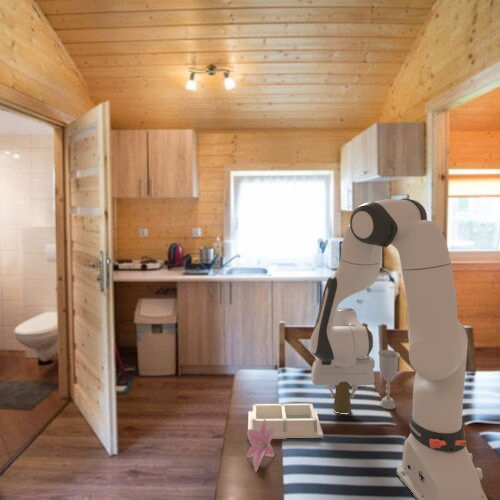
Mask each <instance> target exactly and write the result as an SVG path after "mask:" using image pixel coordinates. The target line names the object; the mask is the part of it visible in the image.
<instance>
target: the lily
mask: <svg viewBox="0 0 500 500" xmlns="http://www.w3.org/2000/svg"><path fill="white" fill-rule="evenodd" d="M277 428H278V427H271V428H268V429H267V426H266V419H264V421H263V423H262V425H261V427H260V430H259V431H258V430H254V429H249V430H248V429H247V430H246V435H247V440H248V441H249V444H251V446H250V447H249V449H248V451H247V453H246V458H251V457H252V462H253V463H252V464H253V470H254V472H256V473H257V471H258V469H259V466H260V465H261V462H262V460H263V459H264V456H266V457H270V458H271V457H272V458H274V457H275V455H276V453H275V451H274V448H273V447H272V444H271V441H272V440H273V439H272V437H273V436H274V434H275V432H276V430H277Z"/></svg>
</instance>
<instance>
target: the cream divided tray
mask: <svg viewBox="0 0 500 500" xmlns="http://www.w3.org/2000/svg"><path fill="white" fill-rule="evenodd" d="M247 416H248V418H247V430H249V429H254V430H258V431H259V430H260V427H261V425H262V423H263V421H264V419H266V426H267V429H268V428H271V427H278V428H277V430H276V432H275V434H274V436H273V437H272V439H271V440H287V439H286V438H306V437H307V438H308V437H310V438H311V437H313V438H314V437H323V438H324V433H323V429H322V426H321V424H320V423H321V422H320V420H319V416H318V412H317V410H315V409H314V405H313V403H253V404H252V410H249V411H248V414H247Z"/></svg>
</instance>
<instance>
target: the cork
mask: <svg viewBox="0 0 500 500" xmlns="http://www.w3.org/2000/svg"><path fill="white" fill-rule="evenodd" d="M351 386H352V385H349V383H348V382H340V383H339V384H338V385H334V387H335V391H336V398H333V399H334V401H333V407H332V408H333V409H334V410H335V411H336V412H339V413H349V412H351V410H352V404H351V398H350V394H349V390H350V388H351ZM333 409H332V410H333ZM351 413H352V412H351Z"/></svg>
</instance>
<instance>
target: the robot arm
mask: <svg viewBox="0 0 500 500" xmlns="http://www.w3.org/2000/svg"><path fill="white" fill-rule="evenodd" d="M351 213H352V214H351V215H350V218H349V224H348V225H347V226H346V227H345V228H346V229H345V232H344V235H343V238H342V239H343V240H342V244H341V249H340V260H339V264H338V267H337V269H336V271H335V272H334V274H332V275H331V276H330V277H328V278H327V280H326V283H325V286H324V289H323V293H322V296H321V300H320V305H319V308H318V313H317V317H316V321H315V324H314V327H313V330H312V332H311V335H310V351H311V353H312V354H313V356H314V358H315V360H314V362H313V363H312V367H311V377H310V378H311V383H312V384H313V385H314V386H317V387H318V386H320V387H321V386H327V387H328V390H329V391H330V398H332V399H335V398H336V390H333V388H334V386H335V385H338V384H339V383H340V382H348V383H349V385H351V386H352V387H351V389H349V394H350V399H351V398H352V399H354V398H355V394H356V391H357V390H358V388H359V386H373V385H374V383H375V371H374V369H375V366H376V365H375V364H376V363H375V359H374V358H373V357H372V356H369V355H370V353H371V352H372V350H373V347H374V336H373V333H372V332H371V331H370V329H368V328H367V327H366V326H365V325H363V324H362V323H361V322H360V321H359V319H358V316H357V312H356V310H355V309H353V308H350V307H341V308H339V305H340V304H341V302H343V301H344V300H346V299H347V298H349V297H351V296H353V295H355V294H358V293H361V292H363V291H365V290H367V289H369V288H370V287H371V286H373V285H374V284H375V283H376V281H377V280H378V278H379V276H380V270H381V261H382V251H383V250H382V249H383V248H387V247H389V246H390V245H391V246H393V247H394V248H395V249H396V250H397V252H398V253H397V254H398V255H399V261H400V268H401V273H402V280H403V286H404V292H405V298H406V310H407V311H406V312H407V313H406V314H407V317H406V318H407V337H408V359H409V362H410V363H409V364H410V366H411V367H412V369H413V370H414V371H415V376H414V381H413V387H412V413H411V415H410V419H409V432H410V434H409V436H408V437H407V438H406V439H405V441H403V450H402V461H401V462H402V463H401V465H400V466H398V467H397V469H396V471H395V472H396V473H397V474H396V473H395V474H396V476H397V475H398V476H399V477H400V478H401V479H400V478H399V477H398V476H397V477H398V478H399V479H400V481H401V482H402V481H403V482H404V483H405V484H406V485H407V487H408V488H409V489H410V490H411V491H410V490H409V489H408V488H407V487H406V488H407V489H408V490H409V491H410V493H411V492H412V493H413V494H412V493H411V494H412V495H413V496H414V497H415V499H416V498H417V499H418V500H489V499H488V498H487V495H486V493H485V492H484V489H483V487H482V484H481V480H483V477H484V476H483V471H482V468H480V467H475V465H474V463H473V457H474V456H473V454H472V453H471V452H469V450H468V448H467V440H466V431H465V427H464V424H463V411H464V410H463V406H464V405H463V404H464V391H465V381H466V380H465V379H466V370H467V359H468V357H467V355H468V342H469V339H468V334H467V331H466V328H465V327H464V326H463V324H462V323H461V321H459V317H458V302H457V301H458V300H457V296H458V295H457V291H456V290H457V289H456V284H455V280H454V279H455V278H454V273H453V272H454V271H453V266H452V262H451V256H450V252H449V248H448V245H447V242H446V239H445V235H444V233H443V231H442V229H441V227H440V225H439V224H437V223H436V222H434V221H432V220H428V214H427V210H426V208H425V207H424V206H423V204H421V203H420V202H419V201H417V200H415V199H412V198H411V199H410V198H400V199H397V198H396V199H394V198H386V199H381V200H376V201H368V202H365V203H363V204H361V205H358V206H357V207H356V208H355V209H354V210H353V211H352V212H351ZM403 482H402V483H403ZM404 483H403V484H404ZM405 484H404V485H405ZM406 485H405V486H406ZM417 499H416V500H417Z"/></svg>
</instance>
